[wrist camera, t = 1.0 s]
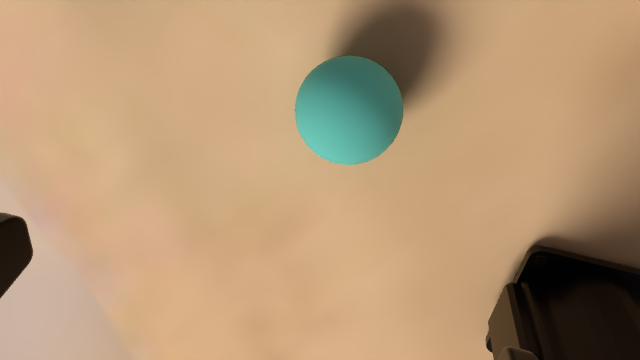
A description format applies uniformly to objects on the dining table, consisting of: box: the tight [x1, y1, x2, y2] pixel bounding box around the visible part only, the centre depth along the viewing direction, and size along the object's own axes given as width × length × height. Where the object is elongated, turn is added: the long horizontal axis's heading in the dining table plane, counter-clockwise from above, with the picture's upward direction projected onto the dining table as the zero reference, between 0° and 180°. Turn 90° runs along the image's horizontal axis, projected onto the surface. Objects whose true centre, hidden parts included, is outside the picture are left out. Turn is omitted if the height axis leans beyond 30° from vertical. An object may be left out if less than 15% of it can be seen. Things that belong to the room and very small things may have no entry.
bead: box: [295, 56, 403, 165], centre depth 16 cm, size 4×4×4 cm
